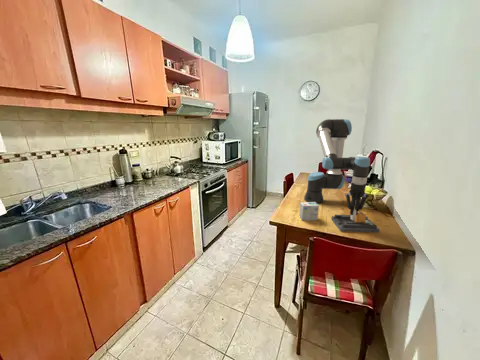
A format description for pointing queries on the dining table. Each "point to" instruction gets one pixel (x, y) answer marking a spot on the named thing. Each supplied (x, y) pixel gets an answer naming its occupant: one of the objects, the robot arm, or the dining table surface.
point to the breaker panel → (347, 220)
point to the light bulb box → (309, 210)
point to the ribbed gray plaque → (356, 224)
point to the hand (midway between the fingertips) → (352, 219)
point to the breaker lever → (360, 217)
